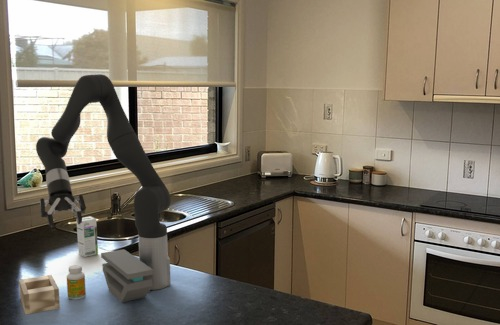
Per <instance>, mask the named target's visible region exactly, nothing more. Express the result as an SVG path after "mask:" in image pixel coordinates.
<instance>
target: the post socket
mask: <svg viewBox="0 0 500 325" xmlns="http://www.w3.org/2000/svg"><path fill="white" fill-rule="evenodd" d="M18 280H19V281H18V283H19V297H20V301H21V302H20V303H21V305H22V309H23V312H24V315H29V314H35V313H40V312H46V311H52V310H57V309H60V308H61V304H60V289H59V287H58V285H57V284H58V283H56V280H55V278H54V277H53V275H52V274H48V275H47V274H46V275H43V276H37V277H36V276H35V277H29V278H28V277H27V278H23V279H18Z"/></svg>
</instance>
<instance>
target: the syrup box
mask: <svg viewBox="0 0 500 325" xmlns="http://www.w3.org/2000/svg"><path fill="white" fill-rule="evenodd" d="M75 221H76V233H77V249H78V254H79V255H80V256H82V257H84V258H86V257H90V256H95V255H98V254H99V248H98V247H99V246H98V245H99V244H98V228H97V227H98V226H97V218H96V217H94V216H91V215H89V216H85V217H82V222H81V223H80V224H78V222H77V218H76V220H75Z"/></svg>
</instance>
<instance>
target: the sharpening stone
mask: <svg viewBox="0 0 500 325" xmlns="http://www.w3.org/2000/svg"><path fill="white" fill-rule="evenodd" d="M100 257H101V259H102V260H103V261H105V262H106V263H105V262H104V263H102V271H103V276H104V278H105V281H106V285H107V288H108V291H109V292H110V293H111V295H113V296H114V297H115V298H116V299H117V300H118V301H119V302H120V303H125V302H129V301H134V300H138V299H144V298H146V297H147V296H148V294H149V292H150V291H151V290H150V289H151V287H152V279H151V278H150V277H148V275H153V269H152V268H150V267H149V266H147V265H146V264H144V263H143V262H142V261H140V260H139V258H138V257H136V256H134V255H133V254H131V253H130V252H129V251H127V250H126V249H124V248H123V249H116V250H111V251H107V252H106V251H104V252H100Z"/></svg>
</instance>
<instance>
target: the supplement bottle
mask: <svg viewBox="0 0 500 325" xmlns="http://www.w3.org/2000/svg"><path fill="white" fill-rule="evenodd" d="M85 275H86V274H85V273H84V272H83V266H82V265H80V264H73V265H69V266H68V273H67V275H66V290H67V298H68V299H70V300H80V299H83V298H85V296H86V295H87V294H86V276H85Z"/></svg>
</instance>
